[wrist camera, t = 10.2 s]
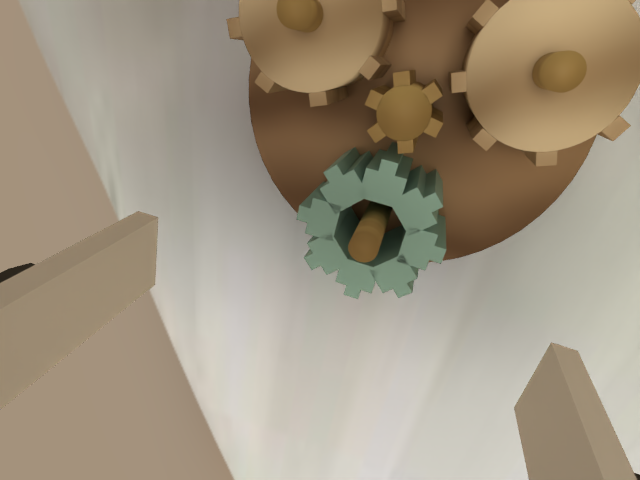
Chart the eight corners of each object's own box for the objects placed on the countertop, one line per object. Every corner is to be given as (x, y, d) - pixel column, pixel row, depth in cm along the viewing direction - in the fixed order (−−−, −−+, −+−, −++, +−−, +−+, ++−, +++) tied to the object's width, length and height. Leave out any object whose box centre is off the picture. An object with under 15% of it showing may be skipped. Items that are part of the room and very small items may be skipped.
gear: (335, 126, 25) (313, 140, 21) (465, 161, 24) (471, 183, 19) (309, 241, 28) (284, 275, 24) (423, 277, 27) (419, 319, 23)
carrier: (227, -56, 24) (136, -108, 17) (629, -153, 19) (748, -290, 11) (281, 258, 30) (232, 318, 23) (589, 253, 25) (649, 329, 18)
